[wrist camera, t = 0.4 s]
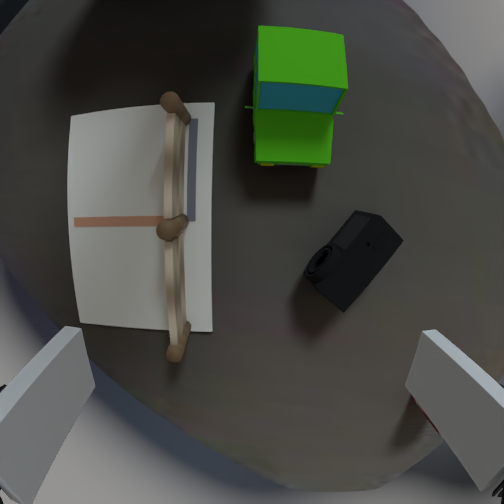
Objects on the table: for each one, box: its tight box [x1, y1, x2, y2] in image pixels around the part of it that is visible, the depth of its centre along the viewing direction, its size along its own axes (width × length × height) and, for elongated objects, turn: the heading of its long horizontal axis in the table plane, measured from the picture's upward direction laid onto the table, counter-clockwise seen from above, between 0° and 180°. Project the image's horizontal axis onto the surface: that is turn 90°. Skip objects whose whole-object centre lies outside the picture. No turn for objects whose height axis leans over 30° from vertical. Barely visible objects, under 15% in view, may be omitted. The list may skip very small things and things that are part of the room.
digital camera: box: [304, 210, 403, 312], centre depth 33 cm, size 10×5×7 cm, turn 140°
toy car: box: [245, 26, 348, 168], centre depth 28 cm, size 10×13×10 cm
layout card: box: [68, 103, 215, 332], centre depth 34 cm, size 28×19×1 cm
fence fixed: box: [156, 92, 191, 241], centre depth 29 cm, size 14×2×8 cm, turn 179°
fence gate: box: [164, 232, 191, 362], centre depth 32 cm, size 13×2×7 cm, turn 179°
